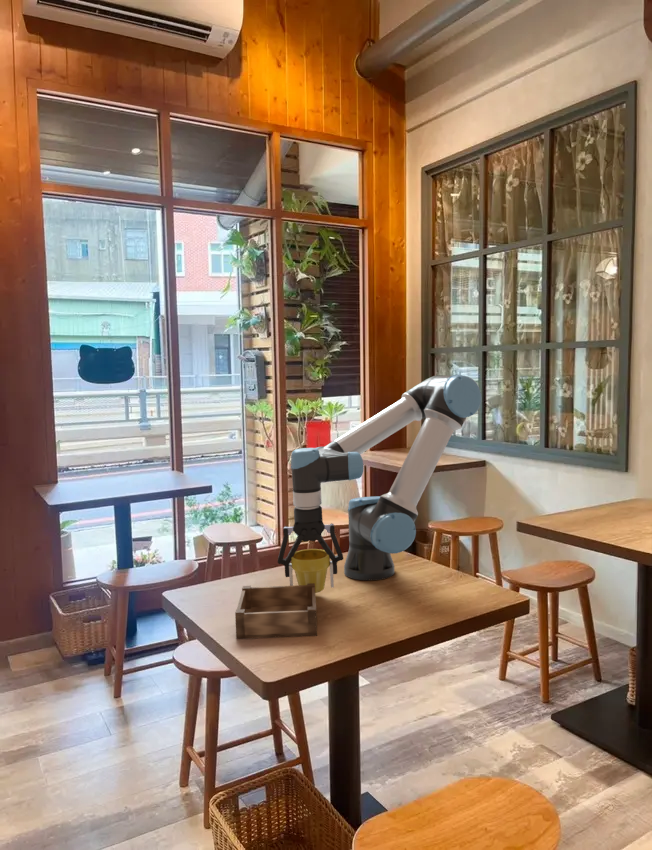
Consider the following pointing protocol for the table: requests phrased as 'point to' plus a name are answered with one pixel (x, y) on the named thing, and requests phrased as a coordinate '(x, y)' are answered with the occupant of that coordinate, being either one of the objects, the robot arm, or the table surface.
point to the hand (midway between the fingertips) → (312, 587)
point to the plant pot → (311, 567)
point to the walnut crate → (276, 612)
